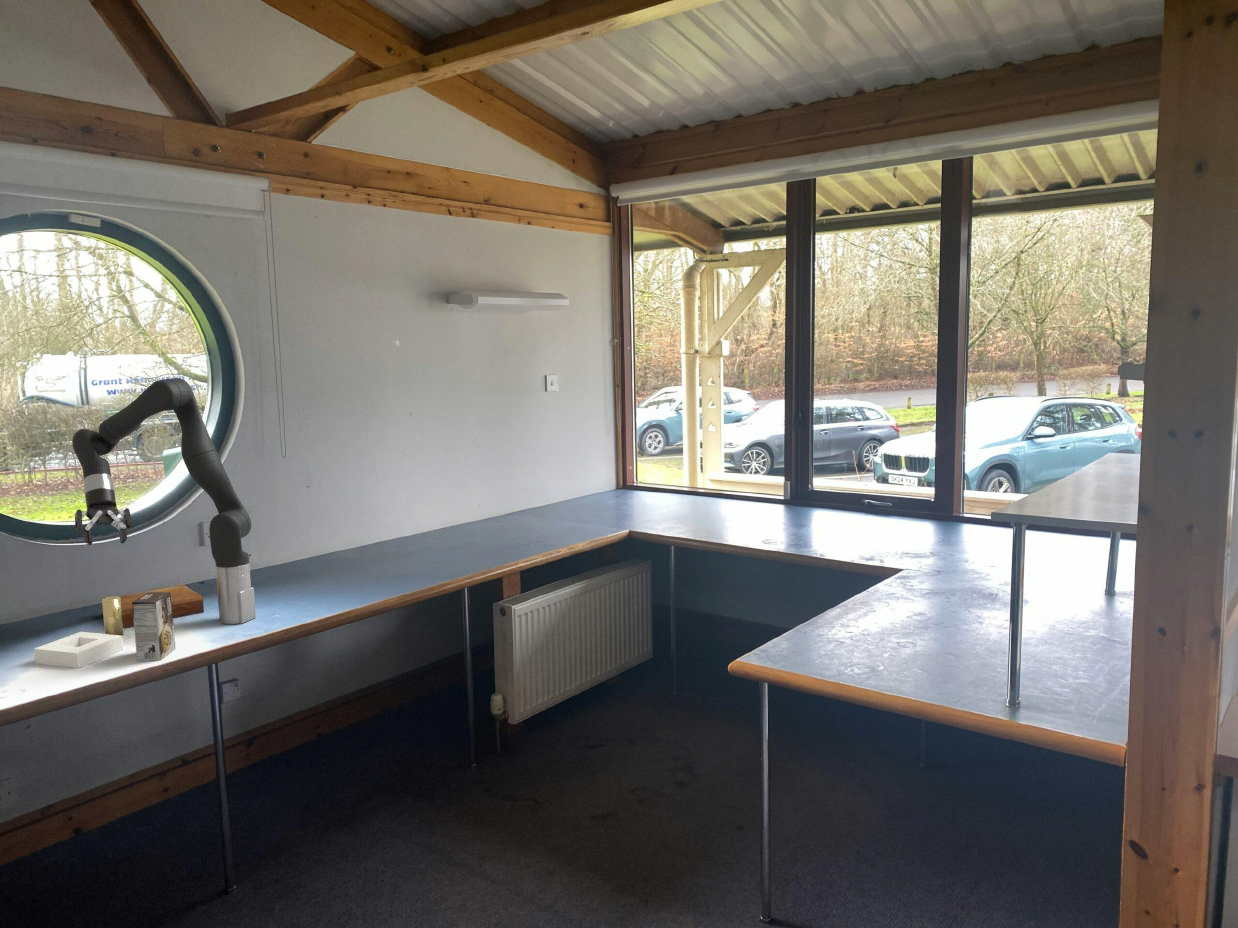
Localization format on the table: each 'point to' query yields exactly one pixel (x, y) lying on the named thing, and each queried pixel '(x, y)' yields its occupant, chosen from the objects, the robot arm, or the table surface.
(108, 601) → the peg
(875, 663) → the table surface
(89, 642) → the socket
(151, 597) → the coffee box
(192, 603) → the brown wooden box
